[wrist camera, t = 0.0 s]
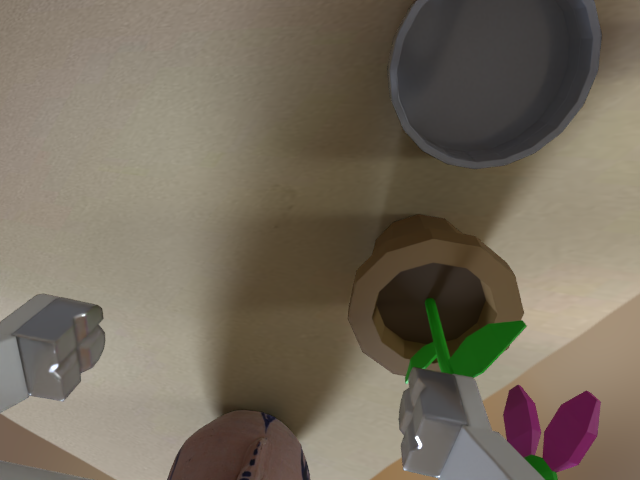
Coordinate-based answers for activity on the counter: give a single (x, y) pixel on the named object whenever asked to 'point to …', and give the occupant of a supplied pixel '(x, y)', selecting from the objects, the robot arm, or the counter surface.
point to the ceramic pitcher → (241, 450)
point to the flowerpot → (458, 327)
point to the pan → (492, 75)
